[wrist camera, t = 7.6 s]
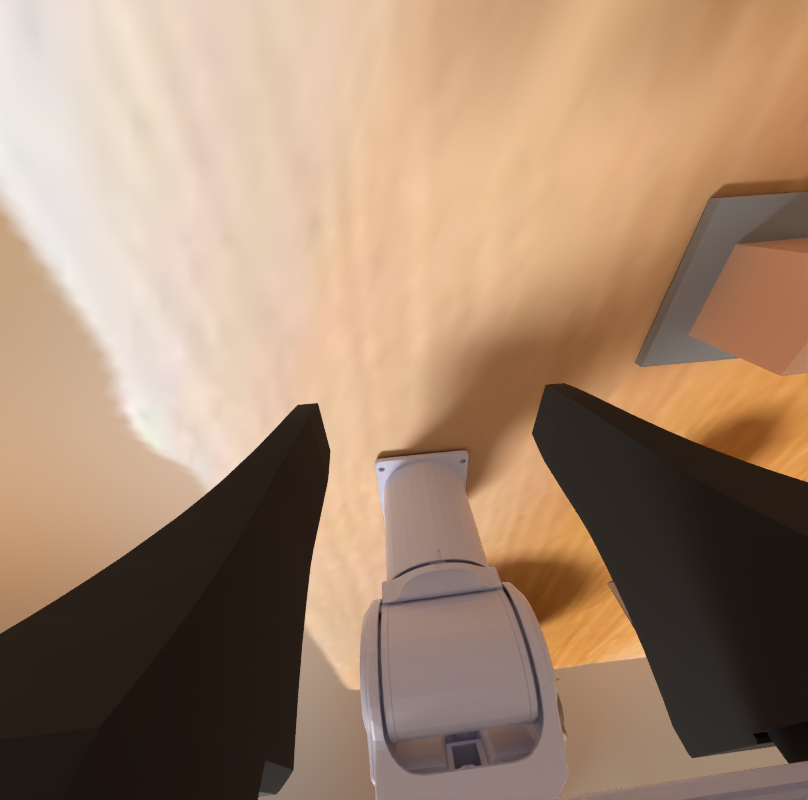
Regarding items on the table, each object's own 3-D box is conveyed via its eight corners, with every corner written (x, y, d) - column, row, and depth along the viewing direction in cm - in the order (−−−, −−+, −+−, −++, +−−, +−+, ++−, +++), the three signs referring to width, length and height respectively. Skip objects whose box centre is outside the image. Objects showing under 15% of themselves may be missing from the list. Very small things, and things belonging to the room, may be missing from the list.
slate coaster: (764, 351, 22) (773, 355, 21) (635, 363, 21) (641, 366, 21) (883, 186, 16) (899, 186, 16) (710, 198, 16) (721, 197, 15)
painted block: (765, 327, 20) (879, 365, 15) (688, 335, 20) (780, 375, 15) (827, 235, 17) (994, 249, 12) (735, 244, 17) (869, 262, 12)
